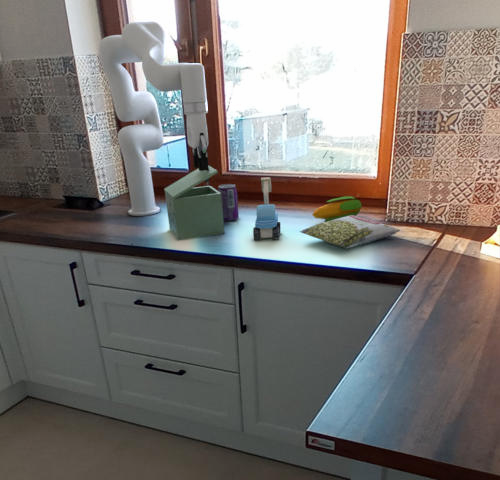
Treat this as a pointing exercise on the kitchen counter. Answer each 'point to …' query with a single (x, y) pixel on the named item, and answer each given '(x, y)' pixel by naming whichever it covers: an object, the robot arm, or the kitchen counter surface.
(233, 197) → the beverage can
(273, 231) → the toy excavator
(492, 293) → the kitchen counter surface
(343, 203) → the corn
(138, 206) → the robot arm
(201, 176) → the green box lid
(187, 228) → the green box
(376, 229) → the frozen beans
